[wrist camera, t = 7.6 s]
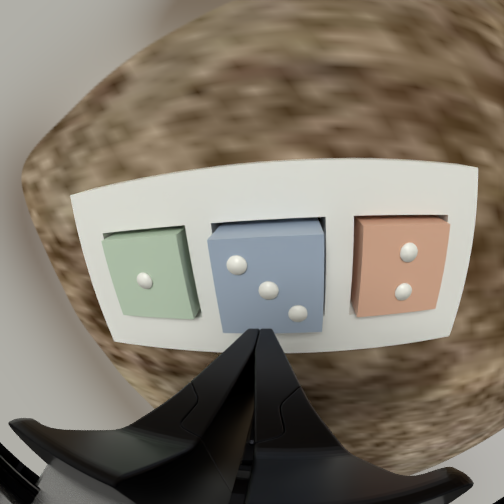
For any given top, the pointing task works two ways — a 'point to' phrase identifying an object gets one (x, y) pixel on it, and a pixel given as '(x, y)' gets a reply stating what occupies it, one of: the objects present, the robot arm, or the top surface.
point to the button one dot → (152, 272)
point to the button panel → (280, 207)
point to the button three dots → (269, 274)
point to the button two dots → (397, 263)
